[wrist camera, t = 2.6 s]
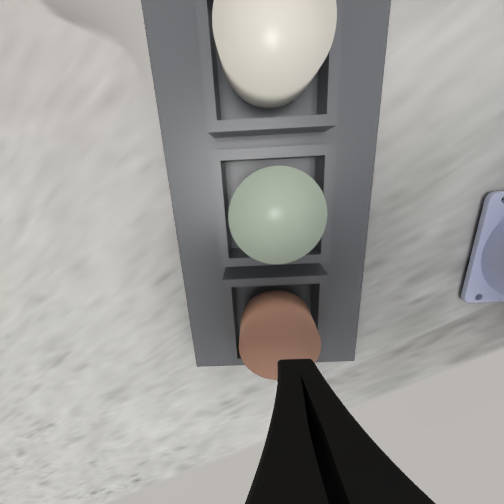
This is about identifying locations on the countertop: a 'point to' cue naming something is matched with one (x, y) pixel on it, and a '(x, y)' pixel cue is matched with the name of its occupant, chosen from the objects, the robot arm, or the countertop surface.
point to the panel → (261, 156)
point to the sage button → (277, 214)
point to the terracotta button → (276, 332)
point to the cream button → (272, 46)
